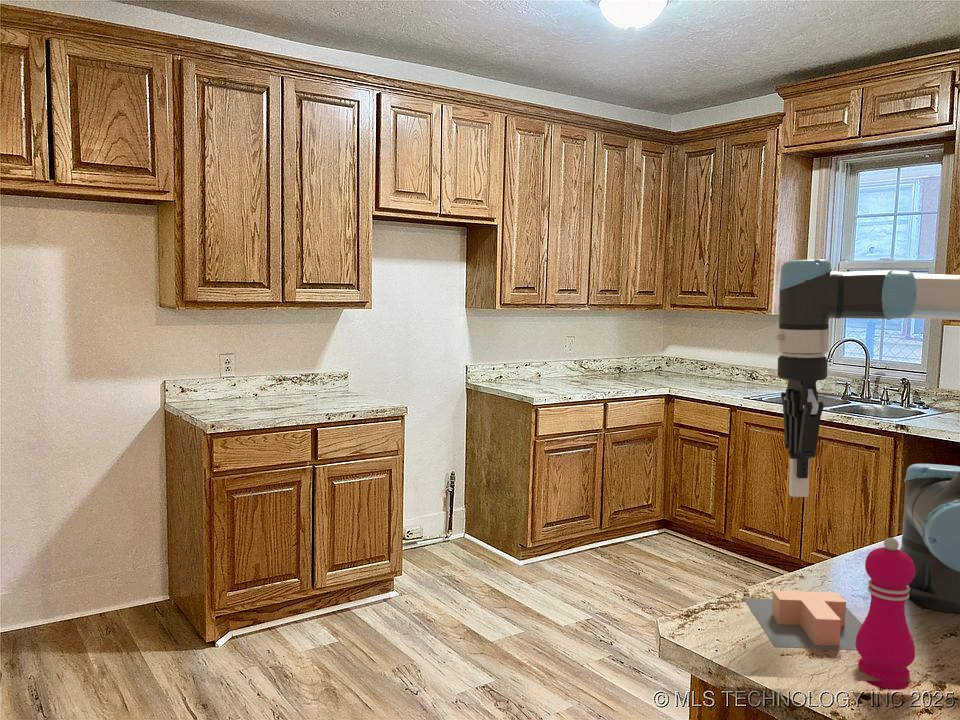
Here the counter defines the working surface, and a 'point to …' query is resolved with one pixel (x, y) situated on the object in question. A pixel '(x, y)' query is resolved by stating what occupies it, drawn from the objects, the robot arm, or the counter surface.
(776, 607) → the t block
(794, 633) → the mat
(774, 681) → the counter surface
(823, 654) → the counter surface
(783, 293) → the robot arm
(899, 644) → the pepper mill
